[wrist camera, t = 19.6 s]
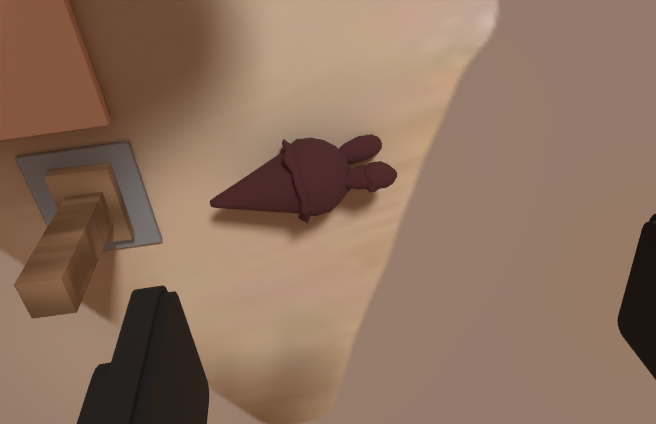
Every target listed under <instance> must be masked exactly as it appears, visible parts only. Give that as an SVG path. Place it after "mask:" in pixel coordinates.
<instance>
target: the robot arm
mask: <svg viewBox="0 0 656 424" xmlns="http://www.w3.org/2000/svg"><path fill="white" fill-rule="evenodd" d="M618 327H619V330H620V332H621V334H622V336H623V337H624V339H625V340H626V341H627V342H628V344H629V345H630V347H631V348H632V349H633V350H634V352H635V353H636V354H637V356H638V357H639V358H640V360H641V361H642V362H643V364H644V365H645V366H646V367H647V369H648V370H649V371H650V373H651V374H652V375H653V377H654V378H655V379H656V214H654V215H653V216H652V217H651V218H650V221H649V222H647V223H645V224H644V226H643V228H642V231H641V235H640V238H639V242H638V246H637V249H636V253H635V257H634V261H633V264H632V268H631V271H630V275H629V279H628V282H627V286H626V290H625V294H624V297H623V301H622V304H621V308H620V311H619V315H618ZM208 405H209V387H208V382H207V378H206V376H205V373H204V370H203V367H202V364H201V361H200V358H199V355H198V352H197V349H196V346H195V343H194V340H193V338H192V335H191V332H190V329H189V326H188V323H187V320H186V317H185V314H184V311H183V308H182V305H181V303H180V300H179V297H178V294H177V293H176V292H175V291H174V292H168V291H167V289H166V287H165V286H157V287H150V288H143V289H136V290H134V291H133V292H132V294H131V297H130V300H129V304H128V307H127V310H126V314H125V317H124V321H123V324H122V327H121V331H120V334H119V338H118V341H117V344H116V348H115V351H114V354H113V358H112V361H111V363H105V364H99V366H98V367H97V368H96V369H95V371H94V374H93V375H92V378H91V381H90V384H89V387H88V390H87V393H86V397H85V400H84V403H83V406H82V409H81V412H80V415H79V418H78V421H77V424H207V415H208Z"/></svg>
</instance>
